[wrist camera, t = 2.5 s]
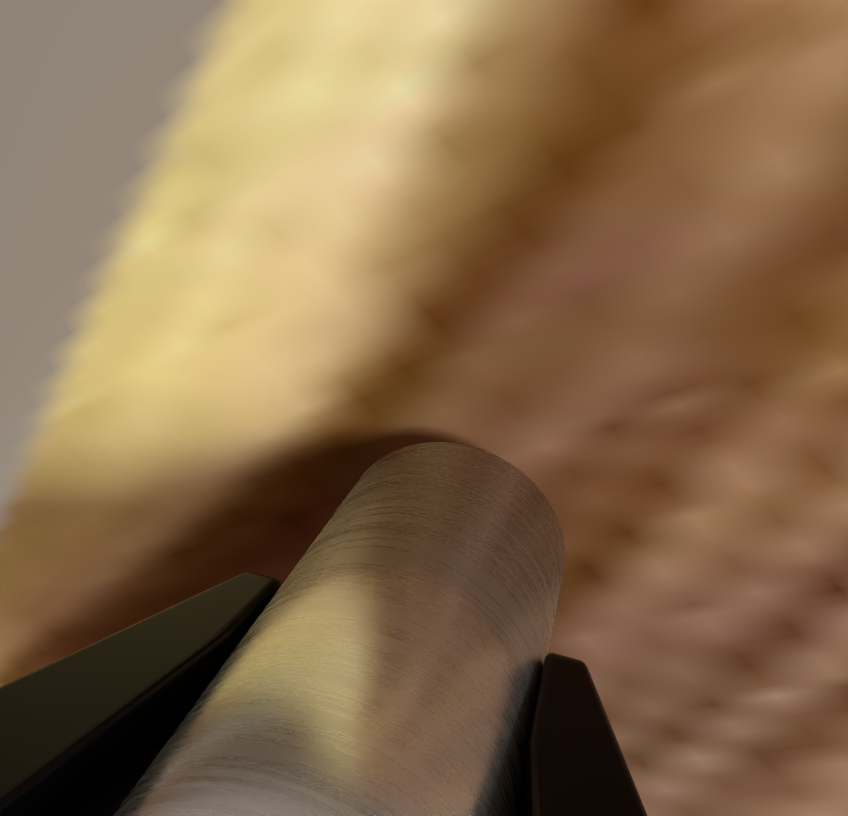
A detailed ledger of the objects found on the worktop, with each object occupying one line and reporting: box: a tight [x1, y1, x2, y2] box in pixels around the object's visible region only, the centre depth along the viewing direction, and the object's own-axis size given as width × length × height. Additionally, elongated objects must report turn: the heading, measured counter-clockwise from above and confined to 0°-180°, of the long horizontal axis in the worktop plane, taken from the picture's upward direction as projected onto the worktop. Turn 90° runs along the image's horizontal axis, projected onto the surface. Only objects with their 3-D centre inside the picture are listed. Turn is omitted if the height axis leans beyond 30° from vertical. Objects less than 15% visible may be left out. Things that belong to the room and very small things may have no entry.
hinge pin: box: [113, 442, 565, 816], centre depth 7 cm, size 3×3×8 cm
